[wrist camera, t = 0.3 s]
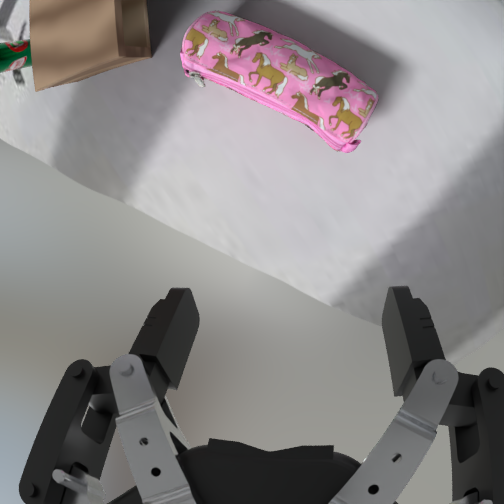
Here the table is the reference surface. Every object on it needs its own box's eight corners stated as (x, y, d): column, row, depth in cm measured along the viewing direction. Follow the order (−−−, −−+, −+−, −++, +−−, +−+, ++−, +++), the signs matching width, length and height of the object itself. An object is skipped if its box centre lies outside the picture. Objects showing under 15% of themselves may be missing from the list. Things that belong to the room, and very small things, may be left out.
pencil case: (189, 75, 32) (160, 78, 25) (219, 13, 27) (197, -2, 20) (341, 148, 35) (352, 169, 28) (376, 89, 30) (399, 95, 23)
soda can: (27, 70, 31) (-25, 83, 21) (25, 45, 28) (-27, 55, 19) (45, 59, 30) (-10, 70, 21) (43, 33, 28) (-12, 40, 18)
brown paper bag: (69, -23, 22) (31, -28, 14) (147, -58, 20) (114, -77, 12) (76, 82, 33) (35, 91, 26) (155, 56, 31) (118, 56, 23)
